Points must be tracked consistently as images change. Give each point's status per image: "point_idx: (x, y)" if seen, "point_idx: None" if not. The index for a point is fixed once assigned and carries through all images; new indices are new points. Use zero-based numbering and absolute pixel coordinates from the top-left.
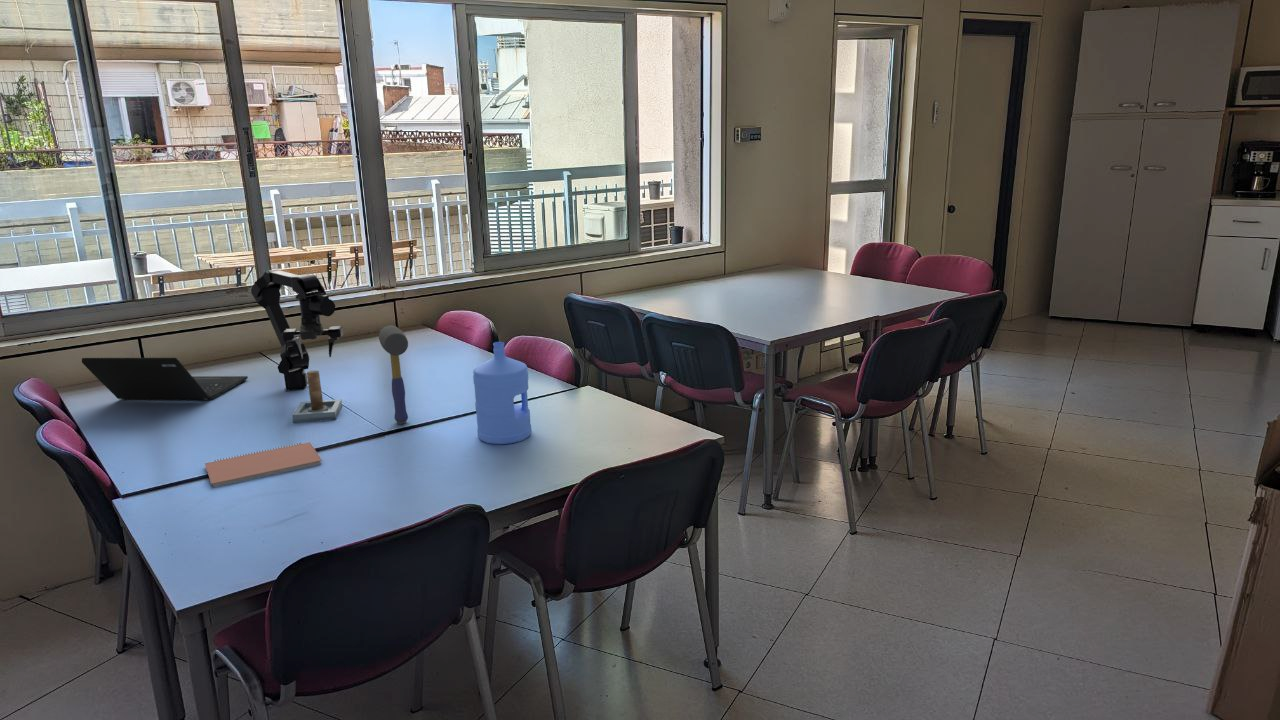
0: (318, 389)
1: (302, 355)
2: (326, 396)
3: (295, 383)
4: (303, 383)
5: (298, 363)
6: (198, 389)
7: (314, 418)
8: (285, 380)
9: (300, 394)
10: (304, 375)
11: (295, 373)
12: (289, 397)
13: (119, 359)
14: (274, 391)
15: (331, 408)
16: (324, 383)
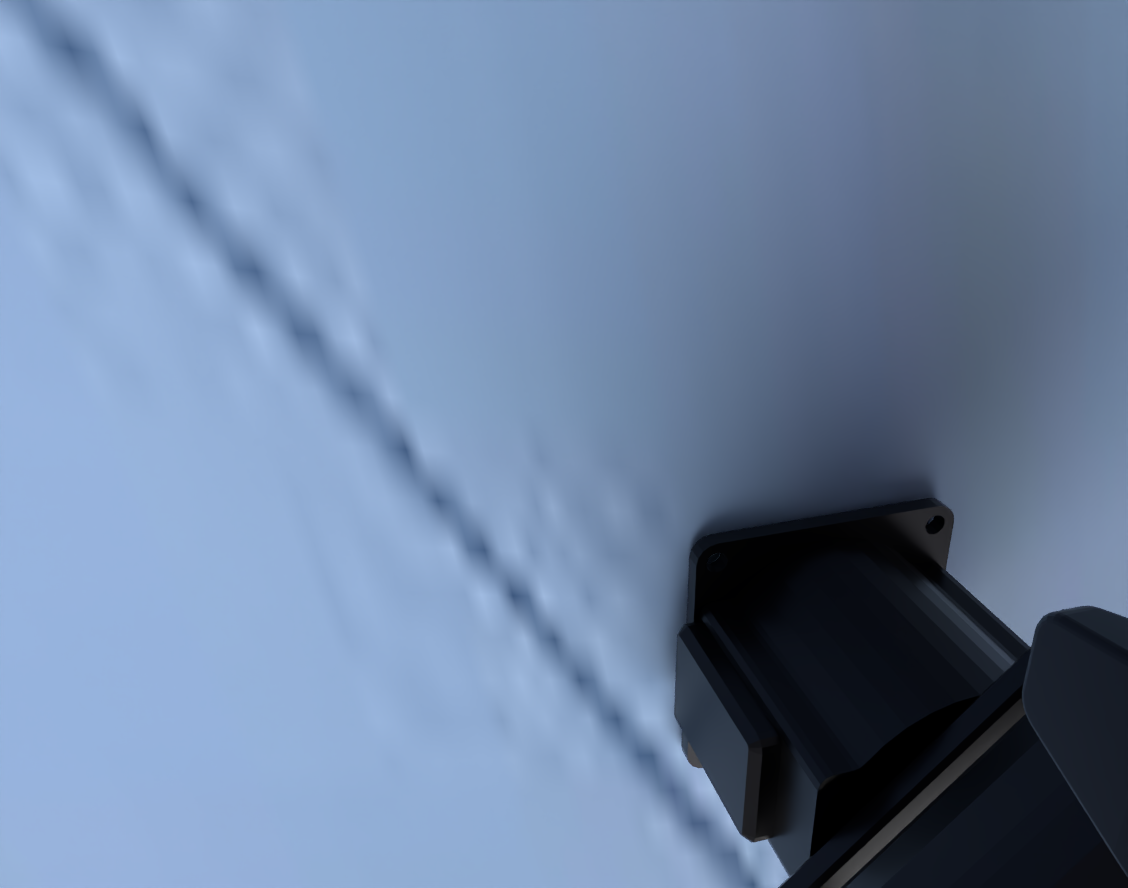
0: None
1: (1087, 808)
2: (194, 134)
3: (844, 589)
4: (729, 637)
5: (978, 831)
6: None
7: None
8: (1004, 630)
9: (705, 323)
10: (757, 740)
11: (920, 705)
12: (852, 185)
13: None
14: (1057, 495)
15: None
16: (454, 797)
